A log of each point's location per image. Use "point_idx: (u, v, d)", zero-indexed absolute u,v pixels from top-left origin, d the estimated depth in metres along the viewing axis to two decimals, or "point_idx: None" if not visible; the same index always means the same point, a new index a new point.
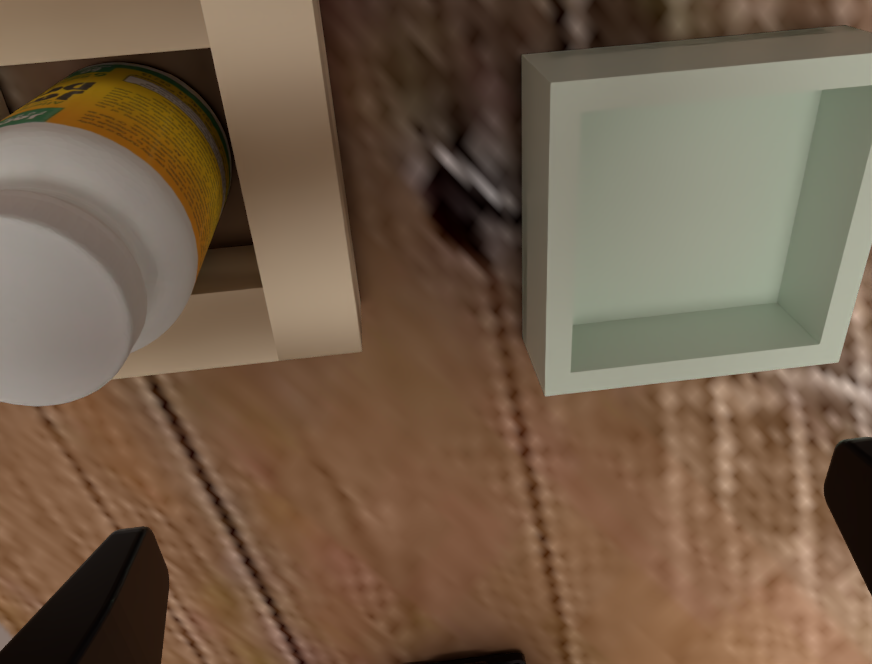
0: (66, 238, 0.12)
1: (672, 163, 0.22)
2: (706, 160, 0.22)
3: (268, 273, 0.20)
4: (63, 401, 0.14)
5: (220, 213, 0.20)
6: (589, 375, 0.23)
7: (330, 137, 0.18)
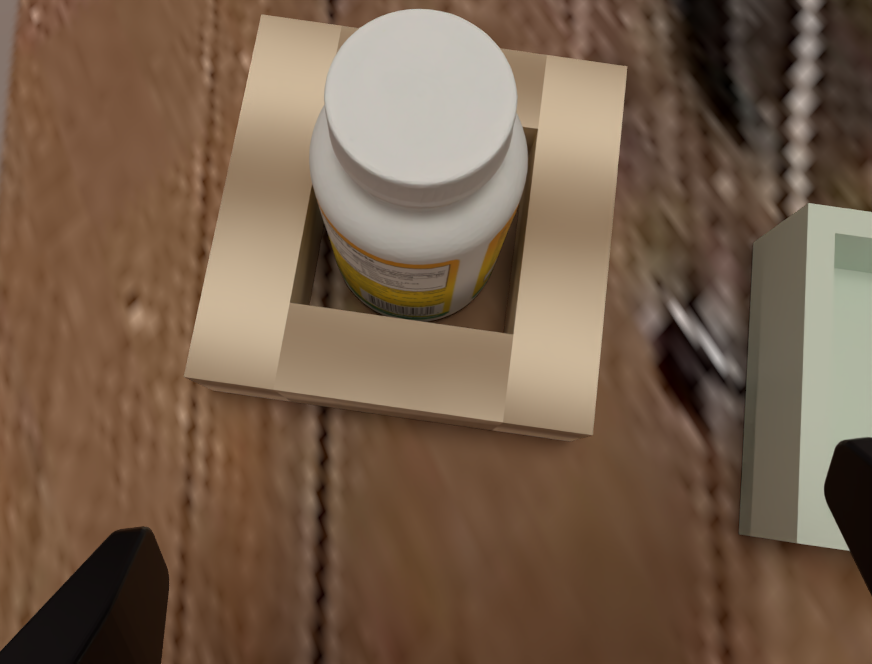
0: (495, 43, 0.15)
1: None
2: None
3: (523, 321, 0.21)
4: (420, 180, 0.14)
5: (492, 267, 0.21)
6: None
7: (612, 213, 0.21)
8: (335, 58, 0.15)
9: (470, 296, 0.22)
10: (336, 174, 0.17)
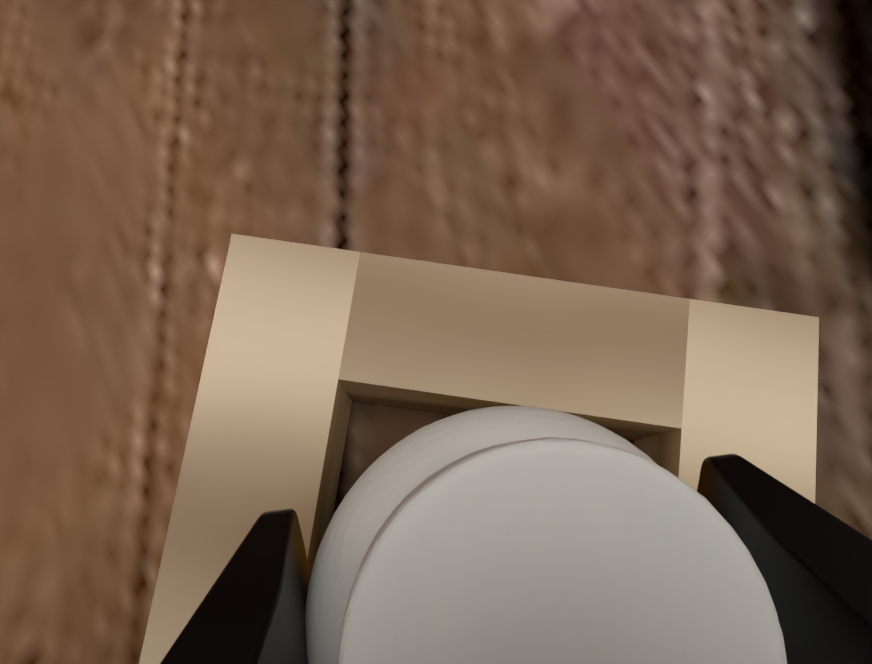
0: (729, 524, 0.07)
1: None
2: None
3: None
4: None
5: None
6: None
7: None
8: (363, 574, 0.06)
9: None
10: None
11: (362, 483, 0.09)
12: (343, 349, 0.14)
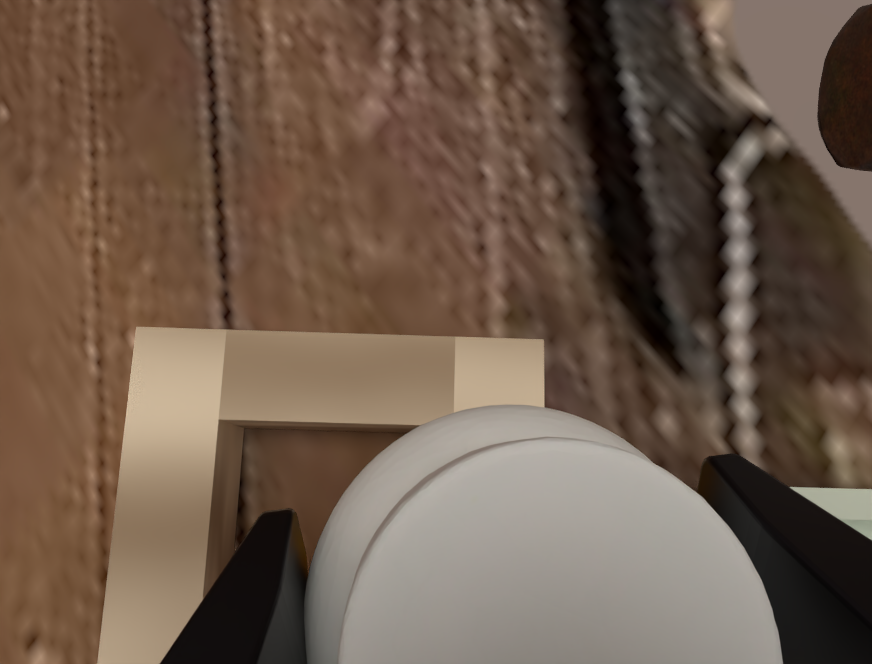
0: (724, 524, 0.07)
1: None
2: None
3: None
4: None
5: None
6: None
7: None
8: (363, 572, 0.06)
9: None
10: None
11: (360, 482, 0.09)
12: (220, 398, 0.20)
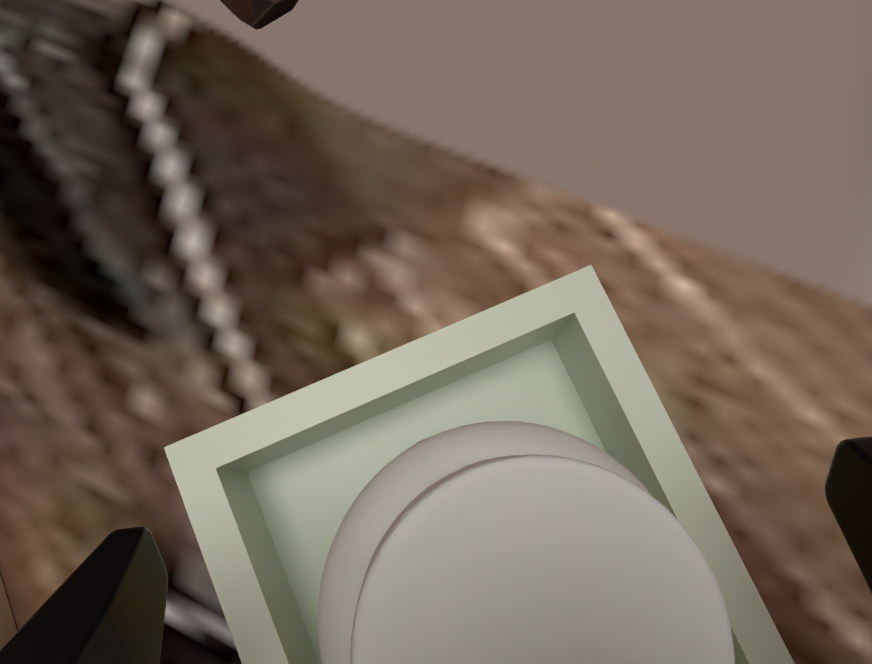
0: (685, 530, 0.08)
1: None
2: None
3: None
4: None
5: None
6: None
7: None
8: (372, 572, 0.08)
9: None
10: None
11: (369, 491, 0.10)
12: None
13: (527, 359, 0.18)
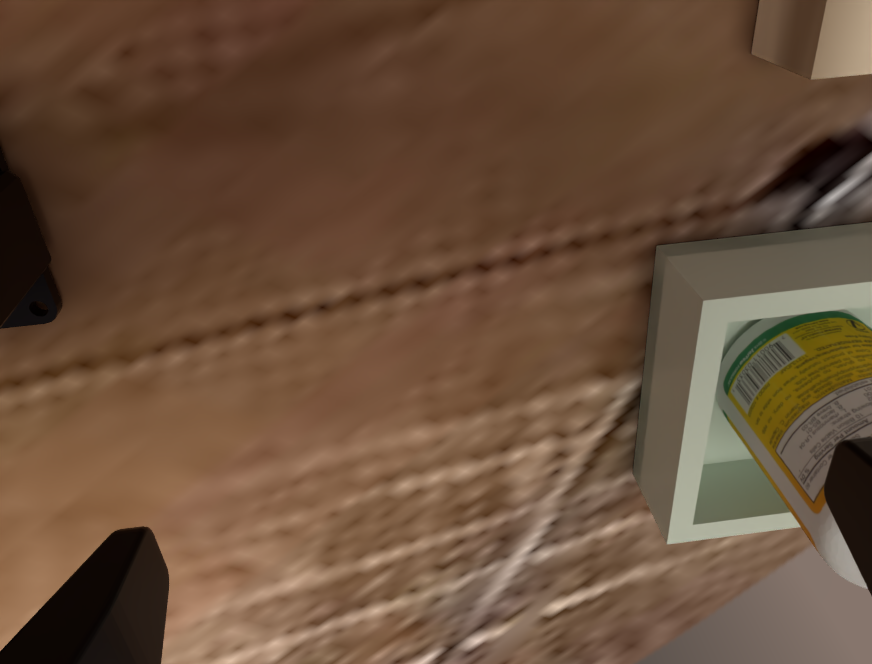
0: None
1: None
2: None
3: None
4: None
5: None
6: (717, 341, 0.20)
7: None
8: None
9: (729, 416, 0.24)
10: None
11: None
12: None
13: None
